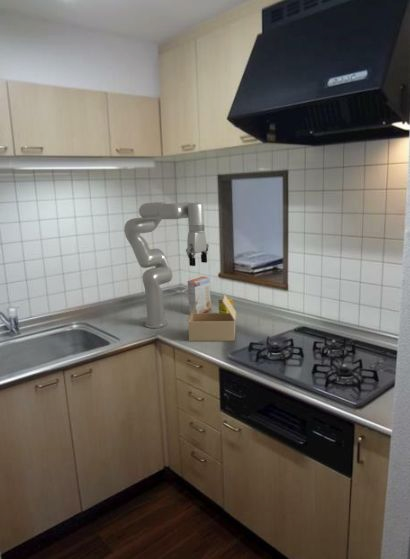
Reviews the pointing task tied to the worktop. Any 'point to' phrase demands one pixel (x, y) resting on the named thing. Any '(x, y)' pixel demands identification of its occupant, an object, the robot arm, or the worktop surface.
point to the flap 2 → (229, 307)
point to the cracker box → (195, 290)
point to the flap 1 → (193, 308)
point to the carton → (211, 327)
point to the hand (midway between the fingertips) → (198, 264)
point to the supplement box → (222, 307)
